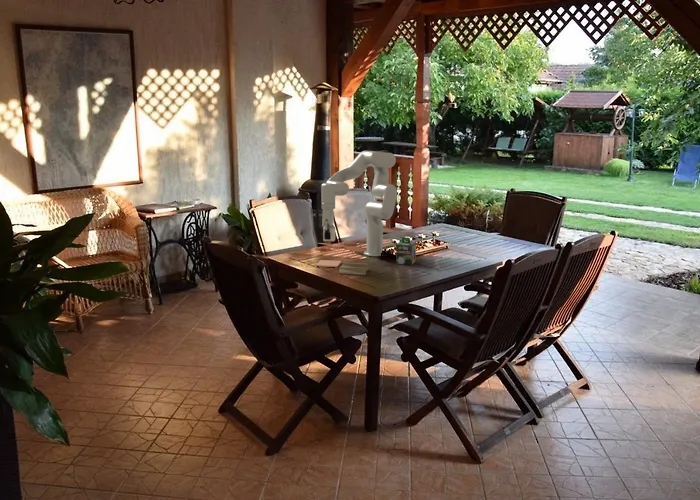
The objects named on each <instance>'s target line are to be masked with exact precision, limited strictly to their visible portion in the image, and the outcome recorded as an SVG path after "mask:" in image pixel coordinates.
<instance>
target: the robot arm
mask: <svg viewBox="0 0 700 500" xmlns="http://www.w3.org/2000/svg"><path fill="white" fill-rule="evenodd" d="M396 161H397V160H396V156H395V155H394V153H392V152H384V151H383V152H382V151H375V150H374V151H373V150H363V151H361V152H360V153H359V154H358V155H356V157H355V158H354V159H353V160H352V161H351V162H350V164H349V165H347V166H345V167H344V168H342V169H341V170H338V171H337V172H334V174H332V176H331V177H329V179H328V180H327V181H326V182H324V183H322V184H321V187H320V188H321V191H320V192H321V194H320V195H321V198H320V199H321V210H322V218H321V223H322V224H321V227H322V228H324V226H325V232H324V239H325V240H330V227H332V226H333V225H334V222H335V216H334V214H335V212H334V211H335V210H336V196H339V197H343V196H346V195H348V193H349V191H350V187H349V184H348V183H347V182H346V181H350V180H354V179H358V178H359V177H360V176H361V175H362V174H363V173H364V172H365V170H367V168H368V167H372V168H373V172H374V178H373V182H372V185H371V186H372V187H371V193H370V194H371V196H372V198H374V199H375V200H371V201H368V202H367V203H366V205H365V206H364V207H365V208H364V212H365V213H364V214H365V218H366V250H364V251H363V255H365V256H368V257H369V256H370V257H381V253H382V251H384V250H383V245H384V244H383V241H384V240H383V237H384V233H383V232H384V222H383V220H390V218H392V216H393V215H394V211H395V210H394V209H395V205H396V202H397V197H398V190H397V187H396V186H395V185H393V184H392V183H389V179H390V172H389V169H391V168H392V167H393V168H394V166H395V165H396ZM378 200H381V201H378ZM328 226H329V227H328ZM328 228H329V229H328Z"/></svg>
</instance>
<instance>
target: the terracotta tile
mask: <svg viewBox="0 0 700 500" xmlns="http://www.w3.org/2000/svg"><path fill="white" fill-rule="evenodd" d="M340 265H342V260H329V259H328V260H326V259H325V260H324V259H320V260H319V261H318V262H317V263H316V265H315V267H316V266H322V267H321V268H327V267H335V268H334V269H338V268H339V267H340ZM338 266H339V267H338Z"/></svg>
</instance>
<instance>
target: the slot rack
mask: <svg viewBox="0 0 700 500" xmlns="http://www.w3.org/2000/svg"><path fill="white" fill-rule="evenodd" d="M338 268H339V269H338V271H339V273H341V274H342V275H360V276H361V275H364V276H365V275H367V271H369V263H361V262H360V263H356V262H341V266H339V267H338ZM339 273H338V274H339Z"/></svg>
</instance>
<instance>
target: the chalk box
mask: <svg viewBox="0 0 700 500" xmlns="http://www.w3.org/2000/svg"><path fill="white" fill-rule="evenodd" d="M406 240H407V241H406ZM416 244H417V242H416V241H411V238H410V237H404V236H403V237H401V240H400V241H399V242H398V243H397V244H396V247H395V248H396V258H395V259H396V265H404V266H405V265H407V266H412V265H413V264H415V263H416V262H417V258H416V257H417V250H416V249H417V247H416V246H417V245H416Z"/></svg>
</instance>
